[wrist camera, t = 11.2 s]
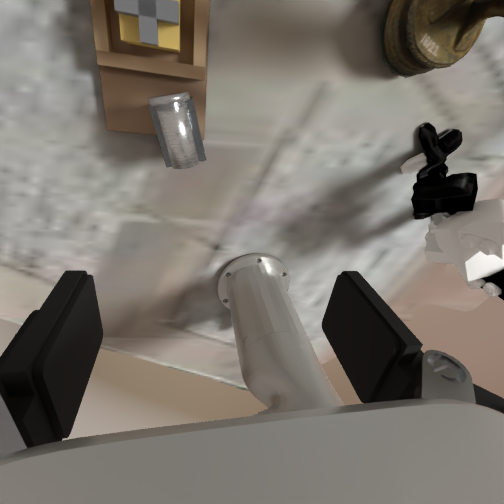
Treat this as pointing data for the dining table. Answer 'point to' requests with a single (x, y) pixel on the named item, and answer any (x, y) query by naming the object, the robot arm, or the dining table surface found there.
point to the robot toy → (457, 214)
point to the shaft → (177, 129)
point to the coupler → (150, 23)
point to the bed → (149, 67)
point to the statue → (432, 32)
